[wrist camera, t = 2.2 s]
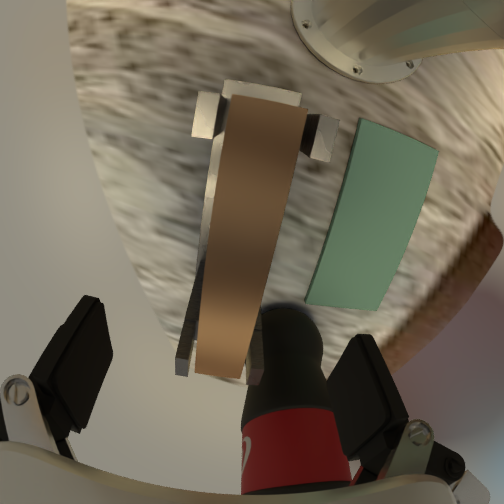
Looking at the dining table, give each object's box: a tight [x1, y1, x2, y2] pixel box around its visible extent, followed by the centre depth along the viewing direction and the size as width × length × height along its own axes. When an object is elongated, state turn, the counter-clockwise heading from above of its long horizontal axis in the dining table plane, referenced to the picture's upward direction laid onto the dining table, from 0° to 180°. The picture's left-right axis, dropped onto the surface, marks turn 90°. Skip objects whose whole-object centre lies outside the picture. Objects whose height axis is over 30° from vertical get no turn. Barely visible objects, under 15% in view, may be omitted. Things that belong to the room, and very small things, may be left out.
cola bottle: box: [241, 309, 352, 495], centre depth 17 cm, size 8×8×30 cm
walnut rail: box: [195, 94, 308, 379], centre depth 14 cm, size 16×3×3 cm, turn 169°
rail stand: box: [175, 79, 340, 386], centre depth 18 cm, size 20×6×12 cm, turn 169°
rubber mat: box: [305, 118, 439, 311], centre depth 25 cm, size 19×9×1 cm, turn 169°
